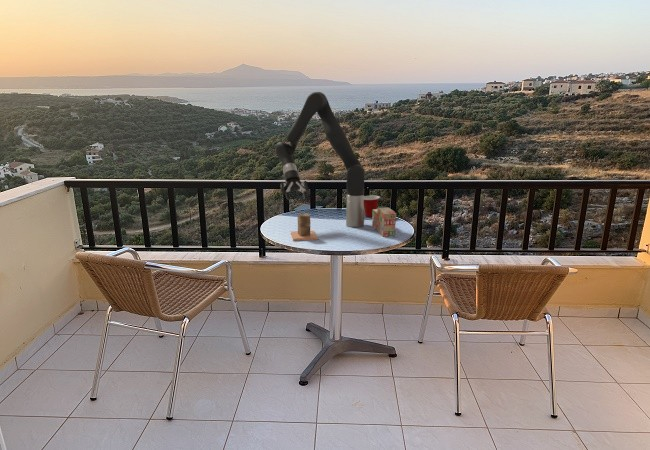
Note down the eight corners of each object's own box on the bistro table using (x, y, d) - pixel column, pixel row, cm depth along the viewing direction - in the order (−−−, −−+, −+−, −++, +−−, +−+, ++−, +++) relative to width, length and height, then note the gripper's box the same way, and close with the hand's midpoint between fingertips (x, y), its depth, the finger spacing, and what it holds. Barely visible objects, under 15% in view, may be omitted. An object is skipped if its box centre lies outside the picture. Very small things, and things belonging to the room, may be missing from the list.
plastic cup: (360, 214, 245) (361, 194, 242) (378, 214, 245) (379, 195, 241) (361, 218, 234) (361, 198, 231) (379, 218, 234) (380, 198, 231)
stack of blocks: (371, 225, 220) (372, 203, 217) (382, 225, 221) (383, 203, 218) (383, 237, 200) (384, 213, 196) (395, 236, 201) (396, 212, 197)
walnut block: (307, 232, 202) (307, 213, 199) (310, 235, 197) (310, 215, 194) (297, 233, 200) (297, 214, 197) (300, 236, 196) (300, 216, 193)
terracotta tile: (314, 232, 206) (314, 230, 205) (317, 239, 194) (317, 237, 194) (290, 233, 204) (290, 231, 203) (293, 240, 192) (293, 238, 192)
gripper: (278, 169, 206) (285, 196, 199) (305, 168, 211) (312, 194, 204) (276, 178, 212) (282, 204, 205) (302, 177, 217) (309, 202, 210)
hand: (297, 199), depth 204 cm, fingers open, 8 cm apart
